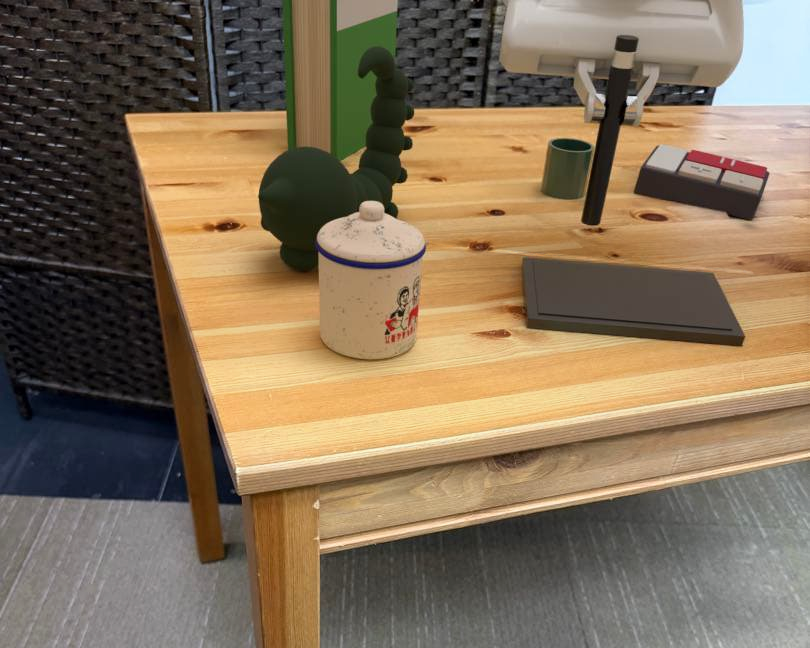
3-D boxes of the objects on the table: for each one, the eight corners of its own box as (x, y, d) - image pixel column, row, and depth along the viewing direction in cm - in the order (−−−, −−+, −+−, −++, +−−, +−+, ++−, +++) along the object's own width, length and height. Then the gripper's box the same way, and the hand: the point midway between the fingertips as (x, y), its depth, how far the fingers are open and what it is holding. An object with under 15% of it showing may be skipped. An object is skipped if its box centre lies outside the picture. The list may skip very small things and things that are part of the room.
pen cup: (582, 189, 105) (592, 139, 101) (586, 204, 101) (596, 153, 97) (539, 186, 105) (547, 136, 101) (541, 201, 101) (549, 149, 97)
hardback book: (336, 162, 108) (336, -62, 92) (287, 152, 110) (279, -69, 94) (392, 130, 120) (400, -73, 104) (347, 121, 122) (349, -79, 106)
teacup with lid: (403, 371, 68) (411, 233, 61) (301, 351, 70) (297, 214, 62) (438, 310, 77) (449, 183, 69) (347, 294, 79) (348, 168, 71)
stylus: (599, 219, 77) (638, 35, 66) (601, 227, 75) (640, 40, 65) (580, 217, 77) (615, 33, 67) (581, 225, 75) (617, 38, 65)
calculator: (764, 190, 97) (642, 160, 101) (750, 225, 100) (632, 195, 104) (772, 165, 105) (658, 138, 108) (759, 199, 108) (649, 171, 111)
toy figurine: (354, 221, 97) (220, 275, 79) (364, 36, 86) (211, 49, 67) (423, 239, 94) (301, 300, 76) (444, 50, 83) (306, 68, 64)
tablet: (710, 281, 86) (713, 271, 85) (742, 346, 75) (746, 335, 74) (521, 265, 86) (522, 255, 85) (526, 327, 76) (528, 316, 75)
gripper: (507, -72, 67) (494, 89, 66) (756, -55, 67) (746, 108, 66) (500, -15, 73) (487, 133, 73) (727, 1, 73) (717, 150, 72)
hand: (612, 121), depth 69 cm, fingers closed on stylus, 2 cm apart
